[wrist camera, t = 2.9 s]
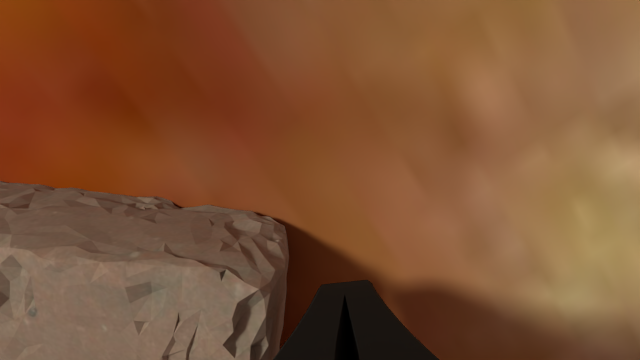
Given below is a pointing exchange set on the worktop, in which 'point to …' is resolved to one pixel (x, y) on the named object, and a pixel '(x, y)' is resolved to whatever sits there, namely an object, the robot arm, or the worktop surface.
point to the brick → (136, 278)
